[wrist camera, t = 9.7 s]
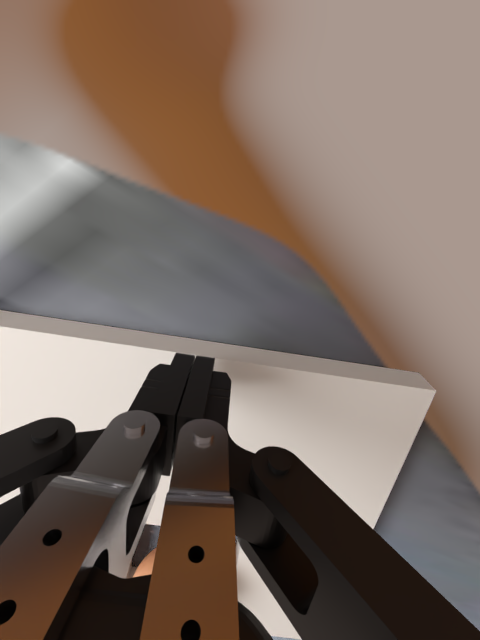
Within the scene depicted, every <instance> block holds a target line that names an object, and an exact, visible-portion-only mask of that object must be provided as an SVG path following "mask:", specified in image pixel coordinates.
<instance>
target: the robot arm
mask: <svg viewBox="0 0 480 640" xmlns="http://www.w3.org/2000/svg"><path fill="white" fill-rule="evenodd" d="M214 363H215V358H211V357H204V356H196V358H195V355H189V354H182V353H176V354H175V356H174V358H173V360H172V362H171V365H167V364H158V365H157V366H155V367H154V368H153V369H151V370H150V371H149V373H148V375H147V377H146V380H145V381H144V382H143V384H142V387H141V388H140V390H139V392H138V393H137V395H136V397H135V399H134V401H133V403H132V404H131V406H130V408H129V410H128V411H127V412H124V413H122V414H119V415H118V416H116V417H115V418H114V419H112V421H111V422H110V423H109V425H108V426H107V427H106V428H105V429H101V430H94V431H85V432H76V428H75V425H74V424H73V423H72V422H71V421H69V420H68V419H65V418H60V417H49V418H43V419H39V420H36V421H34V422H31V423H29V424H26V425H24V426H21V427H19V428H16V429H14V430H11V431H9V432H6V433H4V434H1V435H0V497H2V496H4V495H6V494H8V493H10V492H11V491H13V490H15V489H17V488H19V489H20V494H19V495H17V496H15V497H13V498H12V499H10V500H8V501H6V502H4V503H2V504H0V640H273V639H272V637H271V636H270V634H269V633H268V631H267V630H266V629H265V627H264V626H263V624H262V623H261V622H260V621H259V620H258V619H257V617H256V616H255V615H254V614H253V613H252V612H251V611H250V610H249V609H247V608H246V607H245V606H244V605H243V604H242V603H240V602H239V601H238V595H237V569H236V543H235V535H236V536H237V537H238V542H239V545H240V547H241V548H242V550H243V552H244V553H245V555H246V556H247V558H248V559H249V561H250V562H251V564H252V565H253V567H254V568H255V570H256V571H257V573H258V574H259V576H260V577H261V579H262V580H263V582H264V583H265V585H266V586H267V588H268V589H269V591H270V592H271V594H272V595H273V597H274V598H275V600H276V601H277V603H278V604H279V606H280V607H281V609H282V610H283V612H284V613H285V615H286V616H287V618H288V619H289V621H290V622H291V624H292V625H293V627H294V628H295V630H296V631H297V633H298V634H299V636H300V637H301V639H302V640H480V631H479V630H478V629H477V628H476V627H475V626H474V625H473V624H471V623H470V622H469V621H468V620H467V619H466V618H465V617H464V616H463V615H462V614H461V613H460V612H459V611H458V610H457V609H456V608H455V607H454V606H453V605H452V604H451V603H450V602H448V601H447V600H446V599H445V598H444V597H443V596H442V595H441V594H440V593H439V592H438V591H437V590H436V589H435V588H434V587H433V586H432V585H431V584H430V583H429V582H428V581H427V580H425V579H424V578H423V577H422V576H421V575H420V574H419V573H418V572H417V571H416V570H415V569H414V568H413V567H412V566H411V565H410V564H409V563H408V562H407V561H406V560H405V559H404V558H402V557H401V556H400V555H399V554H398V553H397V552H396V551H395V550H394V549H393V548H392V547H391V546H390V545H389V544H388V543H387V542H386V541H385V540H384V539H383V538H382V537H381V536H380V535H378V534H377V533H376V532H375V531H374V530H373V529H372V528H371V527H370V526H369V525H368V524H367V523H366V522H365V521H364V520H363V519H362V518H361V517H360V516H359V515H358V514H357V513H355V512H354V511H353V510H352V509H351V508H350V507H349V506H348V505H347V504H346V503H345V502H344V501H343V500H342V499H341V498H340V497H339V496H338V495H337V494H336V493H335V492H334V491H332V490H331V489H330V488H329V487H328V486H327V485H326V484H325V483H324V482H323V481H322V480H321V479H320V478H319V477H318V476H317V475H316V474H315V473H314V472H313V471H312V470H311V469H309V468H308V467H307V466H306V465H305V464H304V463H303V462H302V461H301V460H300V459H299V458H298V457H297V456H296V455H295V454H293V453H292V452H290V451H289V450H287V449H284V448H281V447H276V446H268V447H264V448H261V449H260V450H258V451H257V452H256V453H253V452H250V451H248V450H245V449H243V448H241V447H240V446H238V445H237V444H236V443H235V442H234V441H233V440H232V439H231V437H230V435H229V433H228V418H229V406H230V394H231V382H232V381H231V379H230V377H229V376H228V374H227V373H226V372H218V371H214ZM172 466H173V469H172ZM171 470H172V475H171V481H170V486H169V492H167V494H166V499H165V504H164V509H163V515H162V520H161V526H160V531H159V537H158V542H157V548H156V553H155V559H154V564H153V570H152V574H150V575H144V576H138V577H133V578H126V576H127V572H128V569H129V565H130V562H131V560H132V557H133V555H134V552H135V549H136V547H137V544H138V542H139V539H140V537H141V534H142V531H143V529H144V526H145V524H146V521H147V519H148V516H149V513H150V511H151V508H152V506H153V503H154V500H155V496H156V490H157V488H158V485H159V481H160V478H161V475H163V476H170V474H171Z"/></svg>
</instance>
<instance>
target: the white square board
mask: <svg viewBox="0 0 480 640" xmlns="http://www.w3.org/2000/svg"><path fill="white" fill-rule="evenodd" d="M176 353H182V354H189V355H195V358H196V356H204V357H211V358H215V363H214V371H218V372H226V373H227V374H228V376H229V377H230V379H231V381H232V382H231V394H230V406H229V418H228V433H229V435H230V437H231V439H232V440H233V441H234V442H235V443H236V444H237V445H238V446H240V447H241V448H243V449H245V450H248V451H250V452H253V453H256V452H257V451H258V450H260V449H261V448H264V447H268V446H276V447H281V448H284V449H287V450H289V451H290V452H292V453H293V454H295V455H296V456H297V457H298V458H299V459H300V460H301V461H302V462H303V463H304V464H305V465H306V466H307V467H308V468H309V469H311V470H312V471H313V472H314V473H315V474H316V475H317V476H318V477H319V478H320V479H321V480H322V481H323V482H324V483H325V484H326V485H327V486H328V487H329V488H330V489H331V490H332V491H334V492H335V493H336V494H337V495H338V496H339V497H340V498H341V499H342V500H343V501H344V502H345V503H346V504H347V505H348V506H349V507H350V508H351V509H352V510H353V511H354V512H355V513H357V514H358V515H359V516H360V517H361V518H362V519H363V520H364V521H365V522H366V523H367V524H368V525H369V526H370V527H371V528H372V529H374V527H375V525H376V522H377V520H378V518H379V516H380V514H381V511H382V509H383V507H384V505H385V503H386V501H387V498H388V496H389V494H390V492H391V490H392V487H393V485H394V483H395V481H396V479H397V476H398V474H399V472H400V470H401V468H402V465H403V463H404V461H405V459H406V457H407V455H408V452H409V450H410V448H411V446H412V444H413V441H414V439H415V437H416V435H417V433H418V430H419V428H420V426H421V424H422V422H423V420H424V417H425V415H426V413H427V411H428V409H429V406H430V404H431V402H432V400H433V398H434V395H435V393H436V390H435V389H434V388H433V387H432V386H431V385H430V384H429V383H428V381H427V380H426V379H425V378H424V377H423V376H422V375H421V374H420V373H418V372H411V371H405V370H398V369H391V368H384V367H378V366H371V365H364V364H358V363H351V362H344V361H338V360H331V359H324V358H318V357H311V356H304V355H297V354H291V353H284V352H277V351H271V350H264V349H257V348H251V347H244V346H237V345H231V344H224V343H217V342H211V341H204V340H197V339H190V338H184V337H177V336H170V335H164V334H157V333H150V332H144V331H137V330H130V329H124V328H117V327H110V326H103V325H97V324H90V323H83V322H77V321H70V320H63V319H57V318H50V317H43V316H37V315H30V314H23V313H17V312H10V311H3V310H0V435H1V434H4V433H6V432H9V431H11V430H14V429H16V428H19V427H21V426H24V425H26V424H29V423H31V422H34V421H36V420H39V419H43V418H49V417H60V418H65V419H68V420H69V421H71V422H72V423H73V424H74V425H75V428H76V432H85V431H94V430H101V429H105V428H106V427H107V426H108V425H109V423H110V422H111V421H112V419H114V418H115V417H116V416H118V415H119V414H122V413H124V412H127V411H128V410H129V408H130V406H131V404H132V403H133V401H134V399H135V397H136V395H137V393H138V392H139V390H140V388H141V387H142V384H143V382H144V381H145V380H146V377H147V375H148V373H149V371H150V370H151V369H153V368H154V367H155V366H157V365H158V364H167V365H171V362H172V360H173V358H174V356H175V354H176ZM172 469H173V466H172ZM171 475H172V470H171V474H170V476H163V475H161V478H160V481H159V485H158V488H157V490H156V496H155V500H154V503H153V506H152V508H151V511H150V513H149V516H148V519H147V521H146V524H151V525H159V526H161V520H162V515H163V509H164V504H165V499H166V494H167V492H169V486H170V481H171ZM19 494H20V489H19V488H17V489H15V490H13V491H11V492H10V493H8V494H6V495H4V496H2V497H0V504H2V503H4V502H6V501H8V500H10V499H12V498H13V497H15V496H17V495H19ZM137 568H138V567H133V566H132V560H131V562H130V565H129V569H128V572H127V576H126V578H133V576H134V573H135V571H136V569H137ZM236 569H237V595H238V601H239V602H240V603H242V604H243V605H244V606H245V607H246V608H247V609H249V610H250V611H251V612H252V613H253V614H254V615H255V616H256V617H257V619H258V620H259V621H260V622H261V623H262V624H263V626H264V627H265V629H266V630H267V631H268V633H269V634H270V636H277V637H285V638H294V639H301V637H300V636H299V634H298V633H297V631H296V630H295V628H294V627H293V625H292V624H291V622H290V621H289V619H288V618H287V616H286V615H285V613H284V612H283V610H282V609H281V607H280V606H279V604H278V603H277V601H276V600H275V598H274V597H273V595H272V594H271V592H270V591H269V589H268V588H267V586H266V585H265V583H264V582H263V580H262V579H261V577H260V576H259V574H258V573H257V571H256V570H255V568H254V567H253V565H252V564H251V562H250V561H249V559H248V558H247V556H246V555H245V553H244V552H243V550H242V548H241V547H240V545H239V542H238V539H237V544H236Z"/></svg>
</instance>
